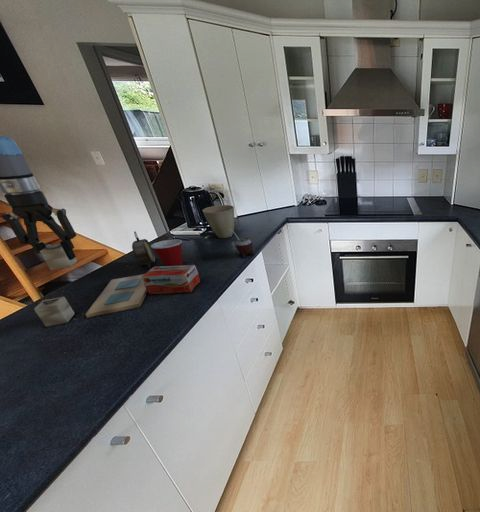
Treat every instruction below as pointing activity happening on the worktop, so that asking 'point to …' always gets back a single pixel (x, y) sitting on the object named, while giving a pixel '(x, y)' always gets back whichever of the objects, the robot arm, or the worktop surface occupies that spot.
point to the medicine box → (171, 279)
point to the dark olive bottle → (143, 251)
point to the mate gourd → (243, 246)
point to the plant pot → (220, 219)
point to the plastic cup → (169, 252)
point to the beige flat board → (119, 296)
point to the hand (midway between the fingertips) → (61, 259)
